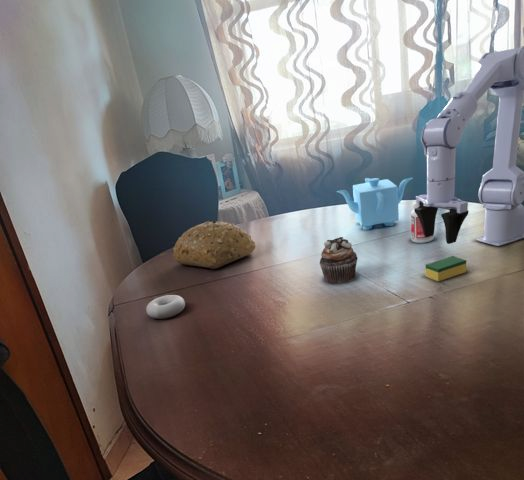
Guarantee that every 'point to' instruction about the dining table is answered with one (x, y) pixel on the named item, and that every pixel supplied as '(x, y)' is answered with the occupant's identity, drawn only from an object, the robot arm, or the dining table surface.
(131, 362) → the dining table surface
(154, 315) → the donut
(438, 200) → the robot arm
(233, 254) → the bread
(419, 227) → the pill bottle
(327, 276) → the cupcake
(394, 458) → the dining table surface
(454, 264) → the sponge
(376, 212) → the teakettle
